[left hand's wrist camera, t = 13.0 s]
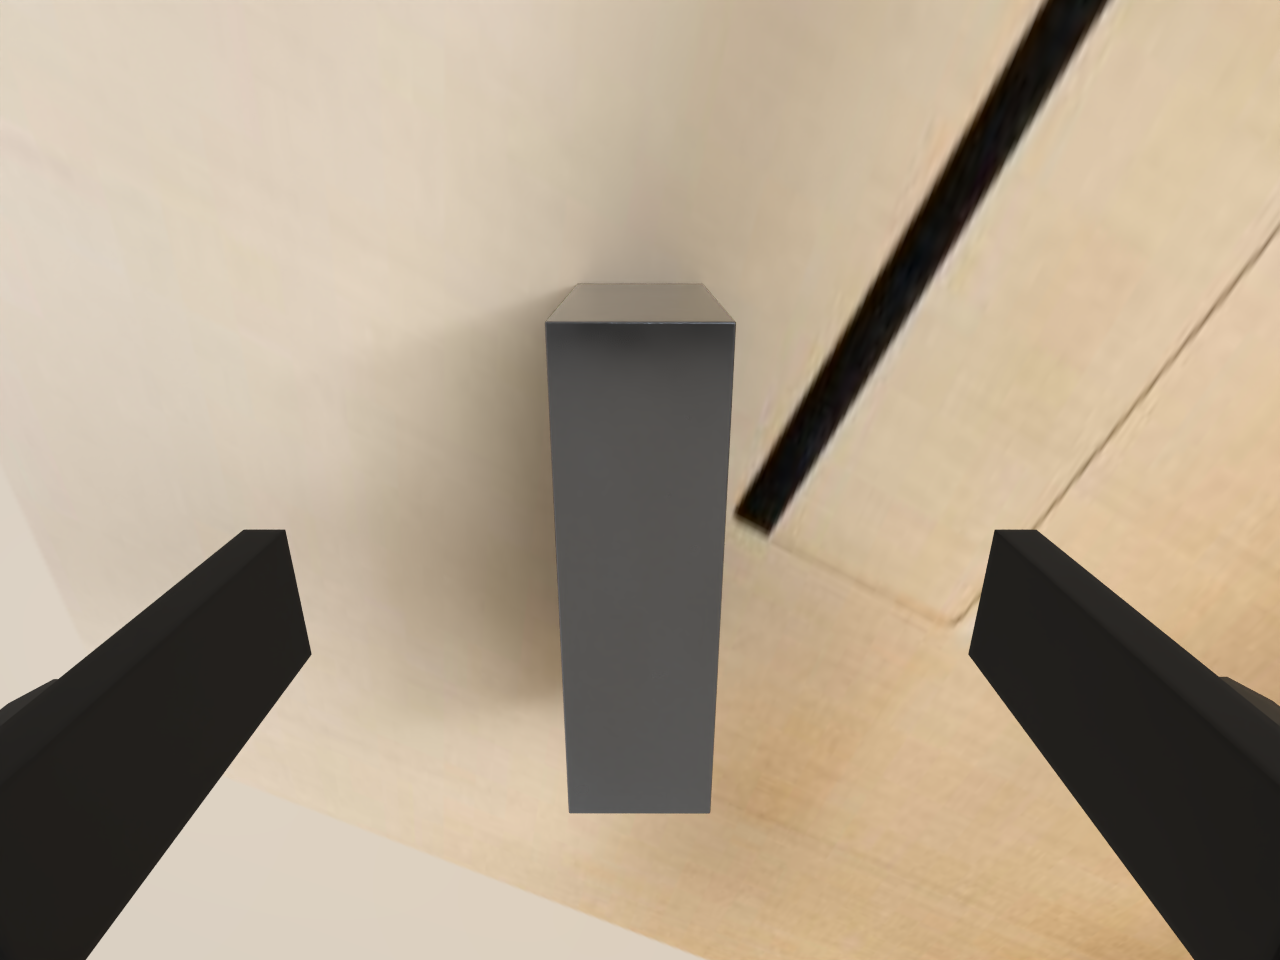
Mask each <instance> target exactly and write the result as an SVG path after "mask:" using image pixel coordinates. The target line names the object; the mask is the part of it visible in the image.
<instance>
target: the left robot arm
mask: <svg viewBox="0 0 1280 960" xmlns="http://www.w3.org/2000/svg"><path fill="white" fill-rule="evenodd" d="M310 656H311V649H310V645H309V640H308V635H307V630H306V626H305V621H304V616H303V611H302V607H301V602H300V597H299V593H298V588H297V583H296V578H295V574H294V569H293V564H292V560H291V555H290V550H289V545H288V541H287V536H286V531H285V530H243V531H242V532H240V533H239V534H238V535H237V536H235V537H234V538H233V539H232V540H230V541H229V542H228V543H227V544H225V545H224V546H223V547H222V548H220V549H219V550H218V551H217V552H216V553H214V554H213V555H212V556H211V557H209V558H208V559H207V560H206V561H204V562H203V563H202V564H201V565H199V566H198V567H197V568H196V569H194V570H193V571H192V572H191V573H189V574H188V575H187V576H186V577H185V578H183V579H182V580H181V581H180V582H178V583H177V584H176V585H175V586H173V587H172V588H171V589H170V590H168V591H167V592H166V593H165V594H163V595H162V596H161V597H160V598H158V599H157V600H156V601H155V602H154V603H152V604H151V605H150V606H149V607H147V608H146V609H145V610H144V611H142V612H141V613H140V614H139V615H137V616H136V617H135V618H134V619H132V620H131V621H130V622H129V623H127V624H126V625H125V626H124V627H122V628H121V629H120V630H119V631H118V632H116V633H115V634H114V635H113V636H111V637H110V638H109V639H108V640H106V641H105V642H104V643H103V644H101V645H100V646H99V647H98V648H96V649H95V650H94V651H93V652H91V653H90V654H89V655H88V656H87V657H85V658H84V659H83V660H82V661H80V662H79V663H78V664H77V665H75V666H74V667H73V668H72V669H70V670H69V671H68V672H67V673H65V674H64V675H63V676H62V677H60V678H59V679H53V680H51V681H50V682H48V683H46V684H44V685H42V686H40V687H38V688H36V689H35V690H33V691H31V692H29V693H27V694H25V695H23V696H21V697H20V698H18V699H16V700H14V701H12V702H10V703H8V704H7V705H6V706H4V707H3V708H2V709H1V710H0V960H86V959H87V957H88V956H89V955H90V953H91V952H92V951H93V949H94V948H95V946H96V945H97V944H98V942H99V941H100V940H101V938H102V937H103V936H104V934H105V933H106V932H107V930H108V929H109V927H110V926H111V925H112V923H113V922H114V921H115V919H116V918H117V917H118V915H119V914H120V913H121V911H122V910H123V909H124V907H125V906H126V904H127V903H128V902H129V900H130V899H131V898H132V896H133V895H134V894H135V892H136V891H137V890H138V888H139V887H140V886H141V884H142V883H143V882H144V880H145V879H146V878H147V876H148V875H149V873H150V872H151V871H152V869H153V868H154V867H155V865H156V864H157V863H158V861H159V860H160V859H161V857H162V856H163V855H164V853H165V852H166V850H167V849H168V848H169V846H170V845H171V844H172V842H173V841H174V840H175V838H176V837H177V836H178V834H179V833H180V832H181V830H182V829H183V827H184V826H185V825H186V823H187V822H188V821H189V819H190V818H191V817H192V815H193V814H194V813H195V811H196V810H197V809H198V807H199V806H200V804H201V803H202V802H203V800H204V799H205V798H206V796H207V795H208V794H209V792H210V791H211V790H212V788H213V787H214V786H215V784H216V783H217V781H218V780H219V779H220V777H221V776H222V775H223V773H224V772H225V771H226V769H227V768H228V767H229V765H230V764H231V763H232V761H233V760H234V759H235V757H236V756H237V754H238V753H239V752H240V750H241V749H242V748H243V746H244V745H245V744H246V742H247V741H248V740H249V738H250V737H251V736H252V734H253V733H254V732H255V730H256V729H257V727H258V726H259V725H260V723H261V722H262V721H263V719H264V718H265V717H266V715H267V714H268V713H269V711H270V710H271V709H272V707H273V706H274V704H275V703H276V702H277V700H278V699H279V698H280V696H281V695H282V694H283V692H284V691H285V690H286V688H287V687H288V686H289V684H290V683H291V681H292V680H293V679H294V677H295V676H296V675H297V673H298V672H299V671H300V669H301V668H302V667H303V665H304V664H305V663H306V661H307V660H308V658H309V657H310ZM969 656H970V657H971V659H972V660H973V661H974V663H975V664H976V665H977V667H978V668H979V669H980V671H981V672H982V673H983V675H984V676H985V677H986V679H987V680H988V681H989V683H990V684H991V686H992V687H993V688H994V690H995V691H996V692H997V694H998V695H999V696H1000V698H1001V699H1002V700H1003V702H1004V703H1005V704H1006V706H1007V707H1008V709H1009V710H1010V711H1011V713H1012V714H1013V715H1014V717H1015V718H1016V719H1017V721H1018V722H1019V723H1020V725H1021V726H1022V727H1023V729H1024V730H1025V732H1026V733H1027V734H1028V736H1029V737H1030V738H1031V740H1032V741H1033V742H1034V744H1035V745H1036V746H1037V748H1038V749H1039V750H1040V752H1041V753H1042V754H1043V756H1044V757H1045V759H1046V760H1047V761H1048V763H1049V764H1050V765H1051V767H1052V768H1053V769H1054V771H1055V772H1056V773H1057V775H1058V776H1059V777H1060V779H1061V780H1062V782H1063V783H1064V784H1065V786H1066V787H1067V788H1068V790H1069V791H1070V792H1071V794H1072V795H1073V796H1074V798H1075V799H1076V800H1077V802H1078V803H1079V805H1080V806H1081V807H1082V809H1083V810H1084V811H1085V813H1086V814H1087V815H1088V817H1089V818H1090V819H1091V821H1092V822H1093V823H1094V825H1095V826H1096V827H1097V829H1098V830H1099V832H1100V833H1101V834H1102V836H1103V837H1104V838H1105V840H1106V841H1107V842H1108V844H1109V845H1110V846H1111V848H1112V849H1113V850H1114V852H1115V853H1116V855H1117V856H1118V857H1119V859H1120V860H1121V861H1122V863H1123V864H1124V865H1125V867H1126V868H1127V869H1128V871H1129V872H1130V873H1131V875H1132V876H1133V878H1134V879H1135V880H1136V882H1137V883H1138V884H1139V886H1140V887H1141V888H1142V890H1143V891H1144V892H1145V894H1146V895H1147V896H1148V898H1149V899H1150V901H1151V902H1152V903H1153V905H1154V906H1155V907H1156V909H1157V910H1158V911H1159V913H1160V914H1161V915H1162V917H1163V918H1164V919H1165V921H1166V922H1167V923H1168V925H1169V926H1170V928H1171V929H1172V930H1173V932H1174V933H1175V934H1176V936H1177V937H1178V938H1179V940H1180V941H1181V942H1182V944H1183V945H1184V946H1185V948H1186V949H1187V951H1188V952H1189V953H1190V955H1191V956H1192V957H1193V959H1194V960H1280V706H1279V705H1277V704H1276V703H1275V702H1273V701H1272V700H1270V699H1268V698H1266V697H1264V696H1262V695H1260V694H1259V693H1257V692H1255V691H1253V690H1251V689H1249V688H1247V687H1245V686H1243V685H1242V684H1240V683H1238V682H1236V681H1234V680H1232V679H1230V678H1228V677H1218V676H1217V675H1216V674H1215V673H1213V672H1212V671H1211V670H1210V669H1208V668H1207V667H1206V666H1205V665H1203V664H1202V663H1201V662H1200V661H1198V660H1197V659H1196V658H1195V657H1193V656H1192V655H1191V654H1190V653H1189V652H1187V651H1186V650H1185V649H1184V648H1182V647H1181V646H1180V645H1179V644H1177V643H1176V642H1175V641H1174V640H1172V639H1171V638H1170V637H1169V636H1167V635H1166V634H1165V633H1164V632H1162V631H1161V630H1160V629H1159V628H1158V627H1156V626H1155V625H1154V624H1153V623H1151V622H1150V621H1149V620H1148V619H1146V618H1145V617H1144V616H1143V615H1141V614H1140V613H1139V612H1138V611H1136V610H1135V609H1134V608H1133V607H1131V606H1130V605H1129V604H1128V603H1126V602H1125V601H1124V600H1123V599H1122V598H1120V597H1119V596H1118V595H1117V594H1115V593H1114V592H1113V591H1112V590H1110V589H1109V588H1108V587H1107V586H1105V585H1104V584H1103V583H1102V582H1100V581H1099V580H1098V579H1097V578H1095V577H1094V576H1093V575H1092V574H1091V573H1089V572H1088V571H1087V570H1086V569H1084V568H1083V567H1082V566H1081V565H1079V564H1078V563H1077V562H1076V561H1074V560H1073V559H1072V558H1071V557H1069V556H1068V555H1067V554H1066V553H1064V552H1063V551H1062V550H1061V549H1060V548H1058V547H1057V546H1056V545H1055V544H1053V543H1052V542H1051V541H1050V540H1048V539H1047V538H1046V537H1045V536H1043V535H1042V534H1041V533H1040V532H1038V531H1037V530H995V531H994V536H993V541H992V545H991V550H990V555H989V560H988V564H987V569H986V574H985V578H984V583H983V588H982V593H981V597H980V602H979V607H978V611H977V616H976V621H975V626H974V630H973V635H972V640H971V645H970V649H969Z"/></svg>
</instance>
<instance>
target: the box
mask: <svg viewBox="0 0 1280 960" xmlns="http://www.w3.org/2000/svg"><path fill="white" fill-rule="evenodd" d="M735 332H736V322H735V321H734V320H733V319H732V317H731V316H730V315H729V314H728V313H727V312H726V310H725V309H724V308H723V307H722V306H721V305H720V303H719V302H718V301H717V300H716V299H715V298H714V296H713V295H712V294H711V293H710V292H709V290H708V289H707V288H706V287H705V286H704V285H703V284H577V285H576V286H575V288H574V289H573V290H572V291H571V292H570V293H569V295H568V296H567V297H566V298H565V299H564V300H563V302H562V303H561V304H560V305H559V306H558V308H557V309H556V310H555V311H554V312H553V313H552V315H551V316H550V317H549V318H548V319H547V320H546V322H545V335H546V356H547V376H548V396H549V417H550V437H551V458H552V478H553V498H554V519H555V539H556V560H557V580H558V600H559V621H560V641H561V662H562V682H563V702H564V723H565V743H566V764H567V784H568V804H569V813H710V809H711V789H712V770H713V751H714V732H715V713H716V694H717V675H718V656H719V637H720V618H721V599H722V580H723V561H724V542H725V523H726V504H727V485H728V466H729V447H730V427H731V408H732V389H733V370H734V351H735Z"/></svg>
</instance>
